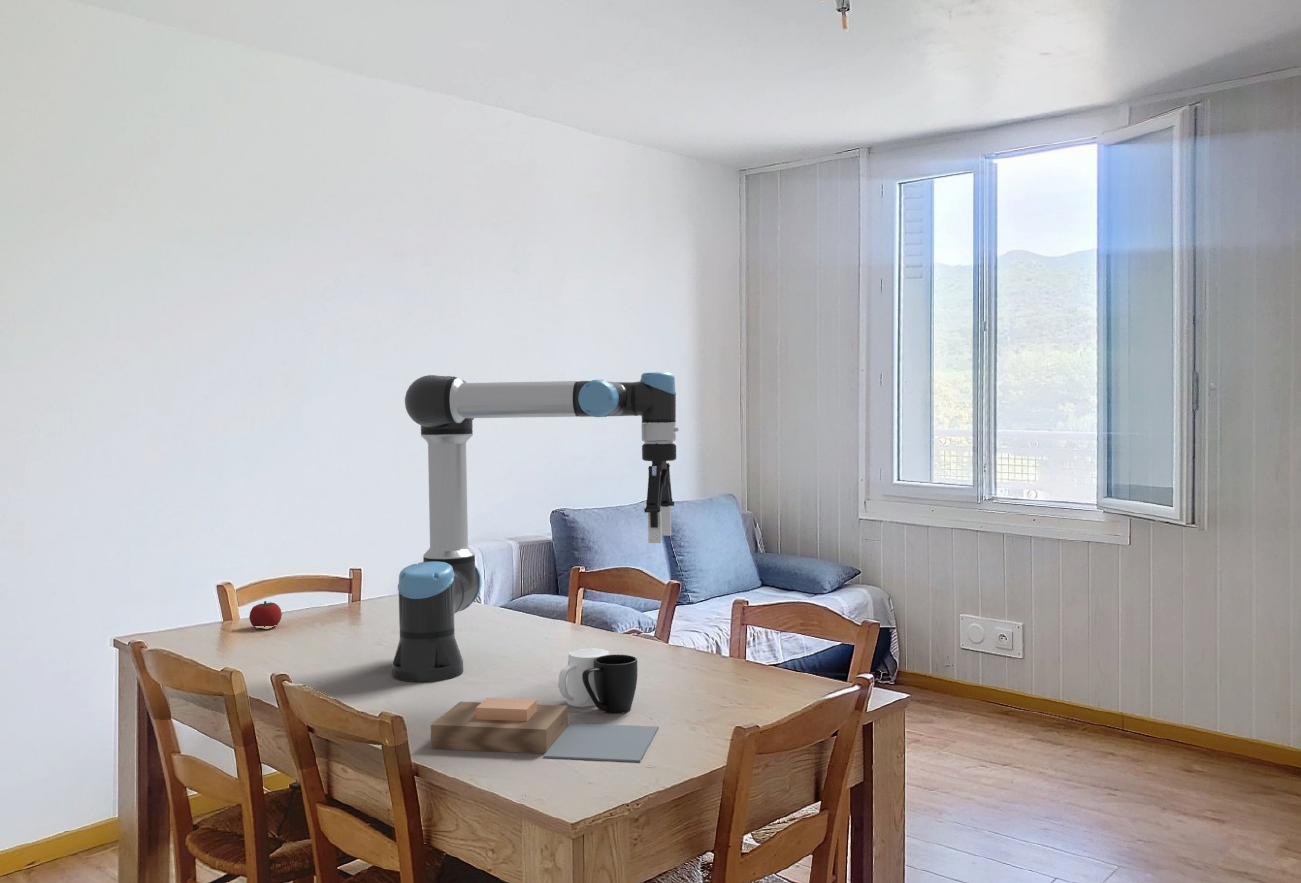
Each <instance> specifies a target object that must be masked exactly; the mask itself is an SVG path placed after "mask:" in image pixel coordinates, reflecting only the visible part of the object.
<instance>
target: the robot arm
mask: <svg viewBox="0 0 1301 883" xmlns="http://www.w3.org/2000/svg"><path fill="white" fill-rule="evenodd" d="M640 376H641V377H640V379H639V381H634V382H632V381H630V382H628V381H627V382H626V381H624V382H623V381H622V382H621V381H607V380H605V379H593V380H580V381H576V380H569V381H567V380H565V381H564V380H563V381H561V380H559V381H555V380H554V381H504V382H501V381H500V382H496V381H495V382H467V381H466V380H464V379H461V378H459V377H457V376H449V375H447V376H446V375H433V374H430V375H429V374H428V375H423V376H420V377H419V378H417V379H415V380H414V381H413V382H412V383H411V384H410V385H409V387H407V390H406V393H405V397H404V405H405V406H404V407H405V410H406V413H407V414H408V416H409V417H410V419H411V420H412V421H413V422H415V423H416V424H418V425H419V426H420V437H421V438H422V439H424V440H425V442H426V443H427V457H428V458H427V459H428V460H427V461H428V462H427V463H428V466H427V467H428V468H427V469H428V506H429V507H428V508H429V510H428V512H429V514H428V515H429V517H428V518H429V519H428V521H429V548H428V549H427V550H426V551H425V553H424V554H423V562H418V563H413V564H410V565H407V566H405V567H404V568H403V569H402V570H401V571H400V572H399V574H398V585H397V591H398V616H399V617H398V618H399V623H398V624H399V640H398V641H399V642H398V645H397V647H396V651H395V654H394V658H393V661H392V664H391V677H393V678H394V679H396V680H399V681H404V682H418V683H419V682H434V681H435V682H436V681H442V680H448V679H451V678H455V677H457V676H460V675H462V674H463V672H464V659H463V657H462V655H461V651H460V648H459V645H458V642H457V639H456V636H455V635H456V634H455V614H457V613H459V612H461V611H464V610H466V609H468V608H469V607H470V606H471V605H472V604H474V602H475V601H476V599H477V598H478V597H479V595H480V592H481V589H482V585H483V584H482V583H483V581H482V580H483V579H482V575H481V571H480V570H479V568H478V567H477V566H476V554H475V551H473V550H472V548H470V547H469V540H468V536H469V535H468V533H469V531H468V526H469V525H468V522H469V521H468V484H467V483H468V481H467V480H468V479H467V478H468V476H467V469H468V468H467V442H468V440H470V438H472V437H473V434H474V433H473V432H474V431H473V421H474V420H475V419H494V418H495V419H499V418H500V419H501V418H503V419H504V418H508V419H509V418H515V419H516V418H517V419H518V418H564V417H566V418H569V417H571V418H572V417H574V418H575V417H578V418H579V417H580V418H583V417H584V418H586V417H587V418H588V417H590V418H592V417H594V418H607V417H632V416H633V417H634V416H635V417H638V416H639V417H640V416H641V441H642V442H644V443H642V445H641V455H642V456H641V459H642V460H643V461H645V462H651V465H649V466H648V468H647V469H648V481H647V492H646V493H647V494H646V506H645V507H643V509H644V510H643V511H644V513H646V514H647V515H648V516H647V521H648V524H647V526H648V527H647V529H648V530H647V532H648V535H647V536H648V541H647V542H648V544H662V541H663V540H662V536H672V507H674V506H675V501H673V495H672V484H671V483H672V482H671V474H670V473H671V472H670V466H671V465H670V463H669V462H672V461H675V460H677V445H676V444H675V443H674V442H675V441H677V439H676V437H677V436H676V434H677V432H679V430H680V429H679V427H676V422H677V421H676V418H677V417H676V416H677V414H676V412H677V409H676V407H677V405H676V401H677V397H676V395H677V392H676V381H675V380H676V379H675V375H674V374H673V373H671V372H660V371H658V372H657V371H655V372H643V373H642V374H641V375H640ZM668 461H669V462H668Z"/></svg>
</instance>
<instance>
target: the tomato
mask: <svg viewBox="0 0 1301 883" xmlns="http://www.w3.org/2000/svg"><path fill="white" fill-rule="evenodd" d="M282 616H283V612H282V609H281V607H280V606H279V605H278V604H276V603H275V602H267V601H266V600H265V601H263V603H258V604H255V605H254V606H253V607H252V608H251V610H250V612H249V617H248V618H249V622H250V623H251V625H252V627H254V626H264V627H265V626H274V625H277V626H278V625H279V624H280V621H281V620H282ZM278 623H279V624H278Z"/></svg>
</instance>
